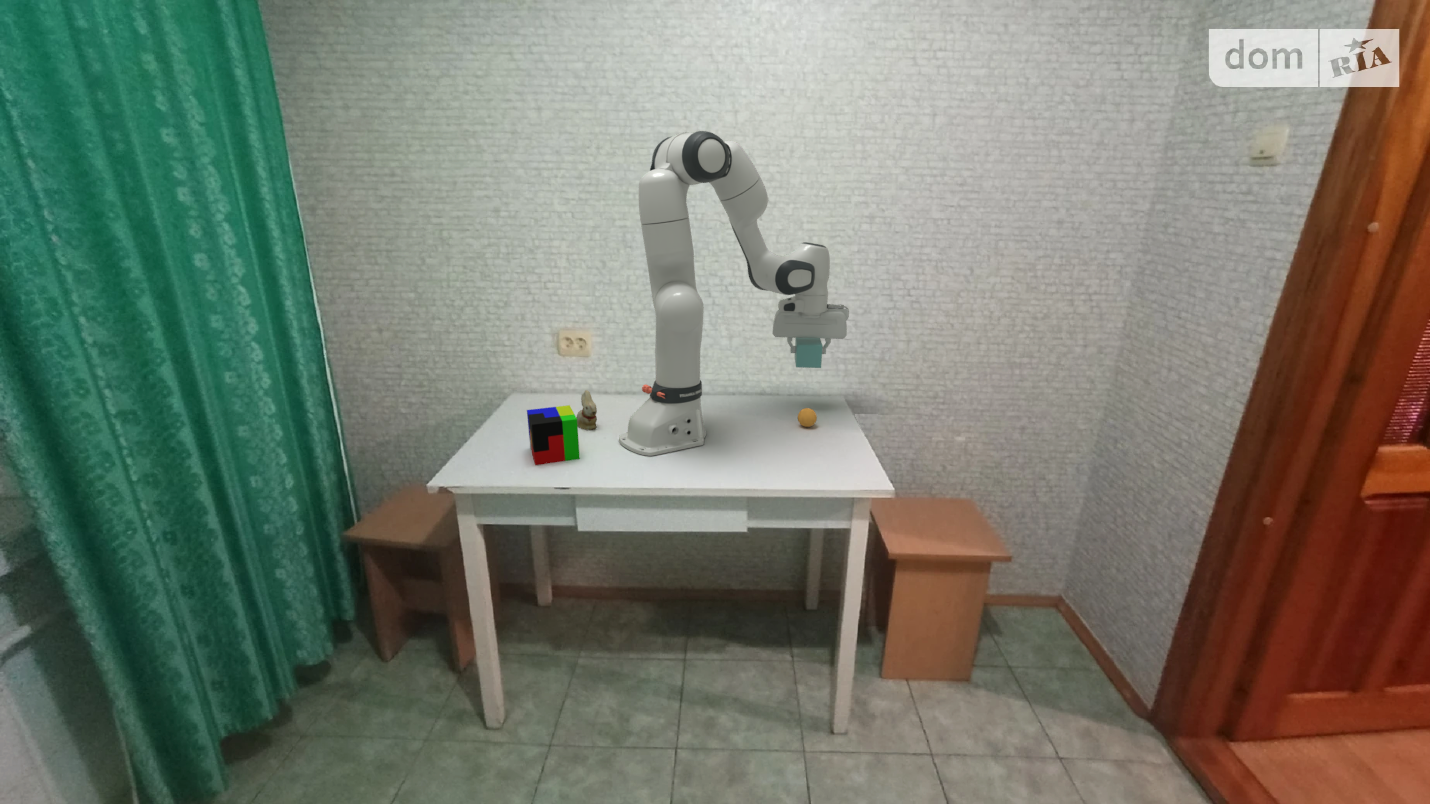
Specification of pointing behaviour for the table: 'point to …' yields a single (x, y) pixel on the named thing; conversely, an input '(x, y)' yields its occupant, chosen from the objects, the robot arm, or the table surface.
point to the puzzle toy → (553, 434)
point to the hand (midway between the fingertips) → (807, 353)
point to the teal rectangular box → (808, 352)
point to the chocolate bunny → (587, 412)
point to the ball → (807, 417)
